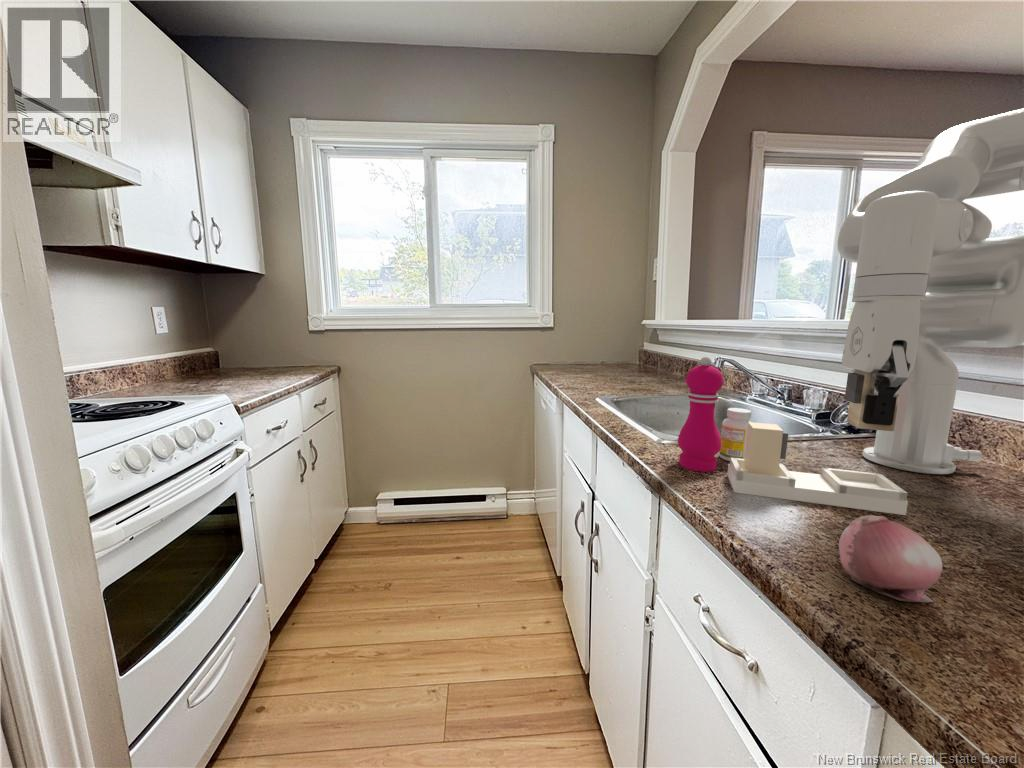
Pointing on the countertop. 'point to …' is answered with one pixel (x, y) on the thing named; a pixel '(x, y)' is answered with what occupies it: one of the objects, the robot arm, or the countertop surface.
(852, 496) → the rail
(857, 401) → the block
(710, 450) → the pepper mill
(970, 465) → the countertop surface
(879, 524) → the pink shallot
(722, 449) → the supplement bottle
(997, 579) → the countertop surface
